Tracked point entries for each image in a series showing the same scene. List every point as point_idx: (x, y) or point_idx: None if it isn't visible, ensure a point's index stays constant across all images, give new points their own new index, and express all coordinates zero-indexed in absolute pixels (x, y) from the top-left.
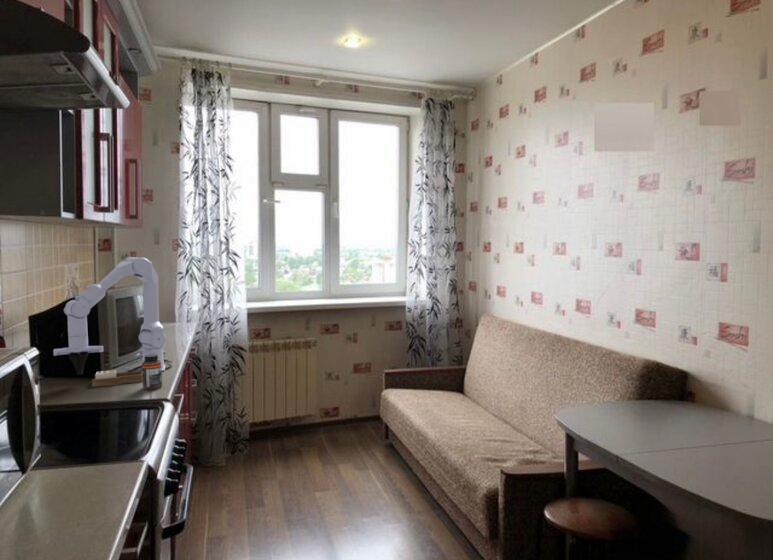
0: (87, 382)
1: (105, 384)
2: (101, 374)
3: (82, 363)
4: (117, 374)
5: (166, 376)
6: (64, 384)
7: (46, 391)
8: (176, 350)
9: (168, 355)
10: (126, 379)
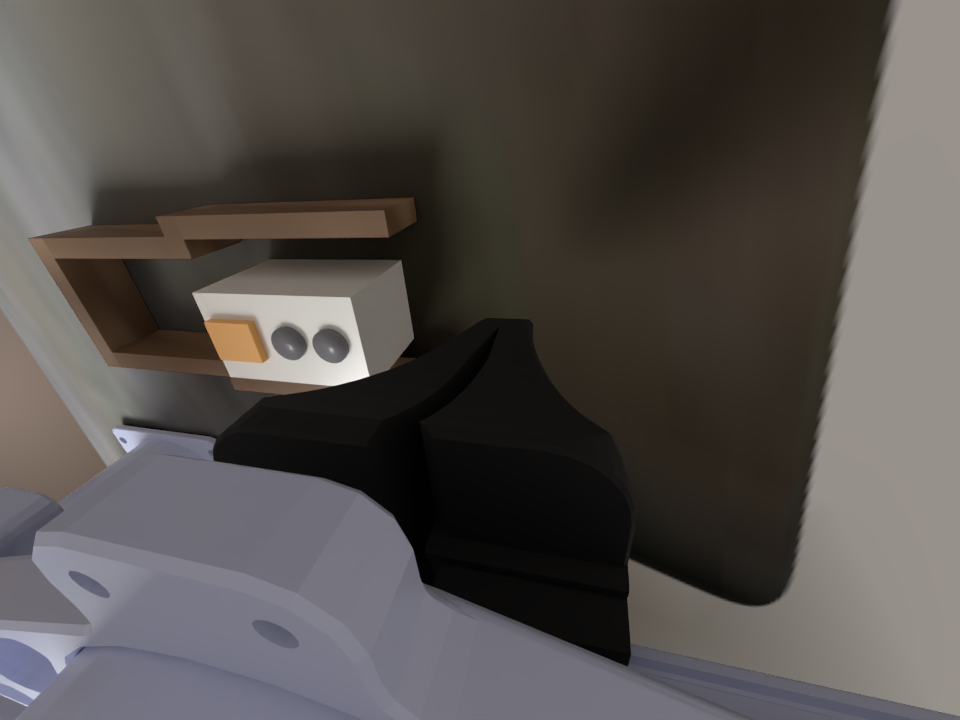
0: None
1: (307, 204)
2: (304, 290)
3: (409, 368)
4: None
5: (31, 302)
6: (665, 393)
7: (861, 193)
8: None
9: None
10: (156, 230)
